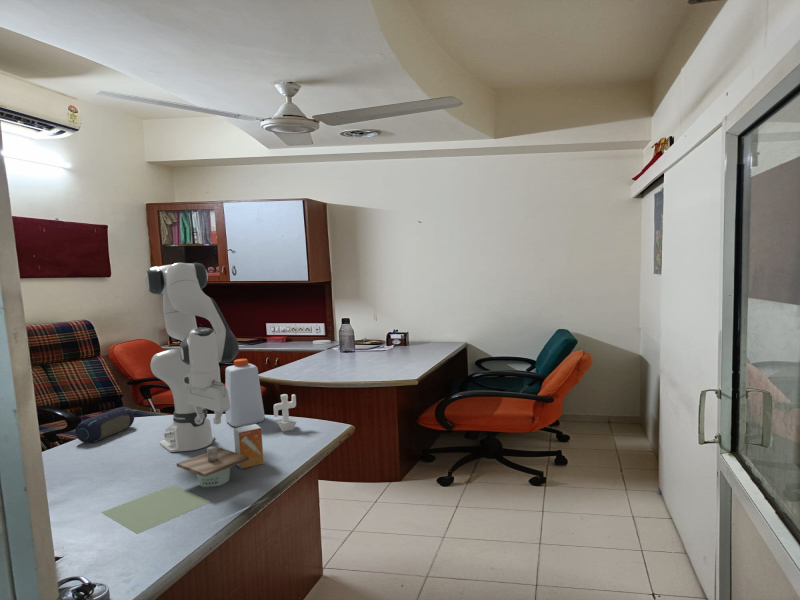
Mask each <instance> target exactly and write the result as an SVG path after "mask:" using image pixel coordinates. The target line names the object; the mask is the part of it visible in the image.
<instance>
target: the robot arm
mask: <svg viewBox="0 0 800 600" xmlns="http://www.w3.org/2000/svg"><path fill="white" fill-rule="evenodd" d="M208 273H209V272H208V271H207V269H206V266H205V265H204V264H203V263H199V262H193V263H188V262H187V263H186V262H175V263H173V264H165V265H161V266H157V265H156V266H151V267H150V268H148V269H147V270H146V273H145V276H144V283H145V286H146V288H147V290H148V292H149V293H151V294H153V295H161V294H163V296H162V297H163V298H162V305H163V306H162V309H163V317H164V324H165V330H166V333H167V335H168V336H169V337H171V338H172V339H176V340H179V341H181V342H180V344H179V347H178V348H172V349H166V350H163V351H160V352H158V353H154V355H153V356H152V357H151V361H150V371H151V372H152V374H153V375H154V377H155V378H157V379H159V380H161V381H163V382H164V383H165V385H167V386H168V387H169V389H170V391H171V394H172V398H173V404H174V411H173V412H172V413H173V414H172V415H173V418H172V422H171V423H170V424H169V425H168V426H167V427H166V428H165V432H164V434H163V436H164V438H163V439H162V440H160V441H159V445H160V446H162V448H164V449H165V450H167V451H168V452H170V453H177V452H188V451H189V452H190V451H195V450H199V449H203V448H207V447H208V446H210V445H211V444H212V443H213V441H214V440H215V439H216V436H215V435H213V431H212V425H211V424H212V423H211V420H210V419H209V418H207V417H208V410H209V411H212V412H214V418H213V419H212V421H213V424H215V425H219V424H221V423H222V419H221V418H222V415H223V413H226V411H228V410H229V409H230V401H229V395H228V391H227V388H226V385H225V384H224V383H223V382H222V380H221V368H220V365H219V363H230V362H232V361H234V359H236V357H237V356H238V354H239V351H240V347H239V343H238V339H237V336H235V334H234V332H232V330H231V328H230V327H229V325H228V322H227V321H226V319H225V317H224V315H223V313H222V312H221V309H220V307H219V306H218V304H217V303H216V301H215V299H214V298H212V297H210V296H208V295H207V294H205V292H204V291H203V289H204V288H205V287H207V284H208V279H209V274H208ZM196 317H200V318H204V319H206V320H208V321H209V323H210V324H211V327H212V328H211V327H198V325H197V318H196Z"/></svg>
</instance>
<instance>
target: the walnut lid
mask: <svg viewBox="0 0 800 600" xmlns="http://www.w3.org/2000/svg"><path fill="white" fill-rule="evenodd" d="M217 447H218V446H216V445H215V446H209V447H206V452H204V453H202V454H199V455H196V456H194V457H190V458H188V459H185V460H182V461H179V462H177V463H176V467H177V468H179V469H182V470H185V471H187V472H189V473H193V474H195V475H196V474H198V475H201V476H203V477H206V476H209V475H211V474H214V473H216V472H219V471H221V470H224V469H227V468H229V467H230V468H231V467H234V466H238V465H237V464H239V463H242V462H244V461H247V460H249V457H248V456H245V455H242V454H238V453H235V451H231V450H228V449H225V448H222V447H219V448H217Z"/></svg>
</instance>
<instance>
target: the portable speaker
mask: <svg viewBox="0 0 800 600" xmlns="http://www.w3.org/2000/svg"><path fill="white" fill-rule="evenodd" d="M134 420H135V414H134V411H133V410H132V409H131V408H130V407H128V406H120V407H117V408H115V409H112V410H108V411H105V412H103V413H100V414H98V415H94V416H91V417H89V418H86V419H84V420H83V421H81V422H80V423H78V425H77V426H76V427H75V431H74V432H75V436H76V438H77V440H79V441H80V442H82V443H83V444H85V443H86V444H91V443H95V442H97V441H100V440H102V439H104V438H107V437H110V436H112V435H114V434H117V433H119V432H121V431H124V430H126V429H129V428H130V427H132V425H133V423H134V422H135V421H134Z"/></svg>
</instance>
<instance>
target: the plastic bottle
mask: <svg viewBox="0 0 800 600" xmlns="http://www.w3.org/2000/svg"><path fill="white" fill-rule="evenodd" d="M258 369H259V368H258V367H257V366H256V365H255V364H252V363H249V359H247V358H237V359H235V360H234V359H233V365H229V366H226V368H225V370H224V371H225V387H226V388H227V391H228V395H229V401H230V409H229V410H228V411H225V422H226V423H228V425H230V426H231V427H233V428H239V427H243V426H247V425H253V424H259V423H261V422H263V421H264V420H265V409H264V403H263V397H262V388H261V384H260V377H259V370H258Z"/></svg>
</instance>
